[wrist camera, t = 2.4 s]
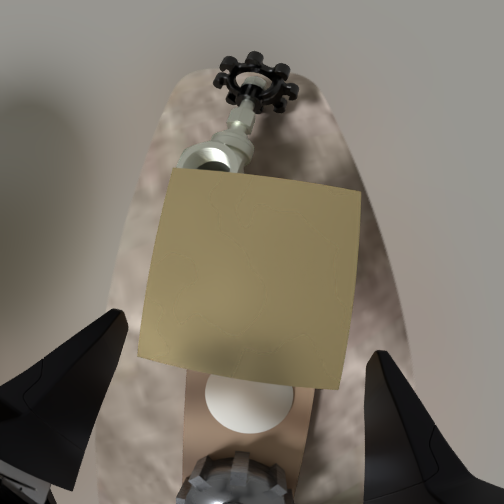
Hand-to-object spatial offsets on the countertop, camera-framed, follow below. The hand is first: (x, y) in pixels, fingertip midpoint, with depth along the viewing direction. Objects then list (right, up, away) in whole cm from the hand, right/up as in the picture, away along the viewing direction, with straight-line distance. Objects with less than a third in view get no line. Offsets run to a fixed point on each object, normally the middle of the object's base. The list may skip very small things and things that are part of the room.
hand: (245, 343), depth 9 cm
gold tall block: (+1, 0, +9) cm, 9 cm away
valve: (-1, +10, +12) cm, 16 cm away
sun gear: (-1, -15, +6) cm, 16 cm away
